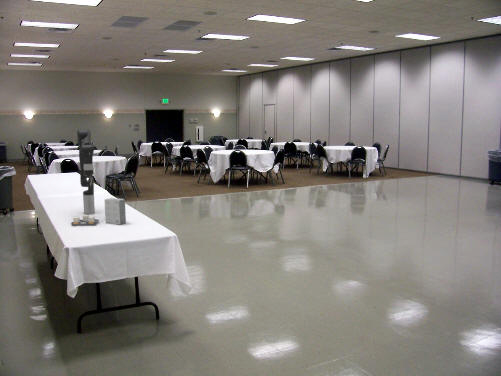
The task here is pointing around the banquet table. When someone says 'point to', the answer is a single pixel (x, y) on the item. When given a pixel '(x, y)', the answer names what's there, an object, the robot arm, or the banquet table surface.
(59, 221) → the banquet table surface
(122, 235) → the banquet table surface
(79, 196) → the banquet table surface
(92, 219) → the tab
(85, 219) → the tab
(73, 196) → the banquet table surface
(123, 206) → the hard drive box
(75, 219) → the tab
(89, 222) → the switch bank
